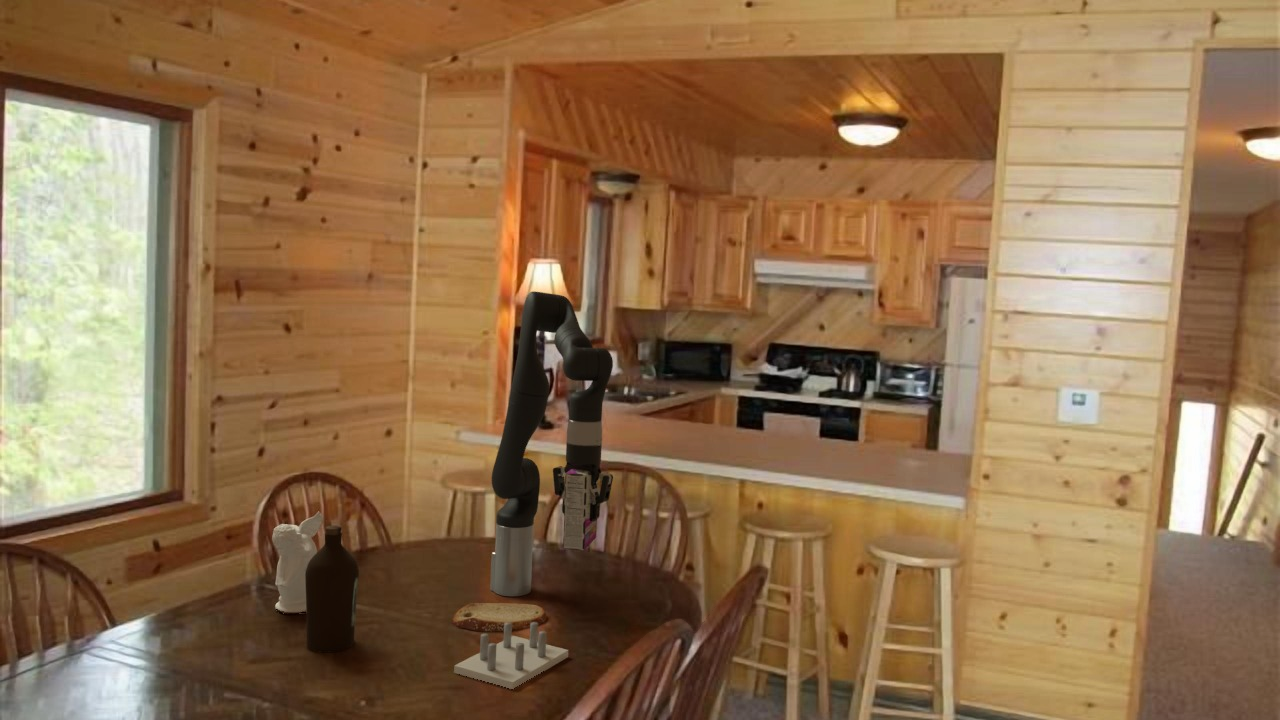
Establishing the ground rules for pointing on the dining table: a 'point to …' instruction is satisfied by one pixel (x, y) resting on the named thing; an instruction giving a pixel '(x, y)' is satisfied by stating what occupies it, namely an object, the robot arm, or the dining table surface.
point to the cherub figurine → (294, 561)
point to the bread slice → (497, 616)
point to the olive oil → (331, 595)
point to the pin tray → (511, 658)
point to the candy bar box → (578, 511)
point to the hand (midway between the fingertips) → (580, 518)
